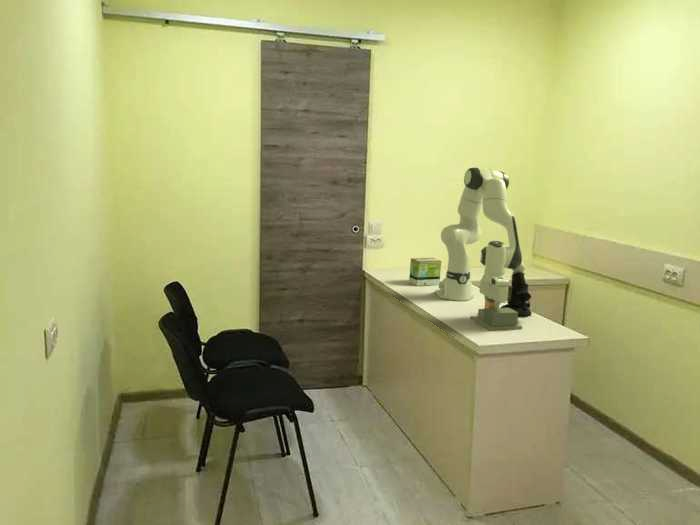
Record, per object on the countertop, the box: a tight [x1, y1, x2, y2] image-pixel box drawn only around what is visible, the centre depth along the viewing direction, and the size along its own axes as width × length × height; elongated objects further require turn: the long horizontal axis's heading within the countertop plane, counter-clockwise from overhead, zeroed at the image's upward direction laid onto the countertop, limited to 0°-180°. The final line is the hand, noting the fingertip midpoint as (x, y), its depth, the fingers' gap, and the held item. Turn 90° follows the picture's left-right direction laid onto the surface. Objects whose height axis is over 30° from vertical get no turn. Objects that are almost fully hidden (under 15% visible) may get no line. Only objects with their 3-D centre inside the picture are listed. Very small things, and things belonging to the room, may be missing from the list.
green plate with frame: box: [469, 307, 523, 331], centre depth 261 cm, size 18×16×7 cm
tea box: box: [408, 257, 442, 287], centre depth 338 cm, size 15×10×15 cm
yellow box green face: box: [483, 298, 495, 309], centre depth 265 cm, size 4×5×9 cm
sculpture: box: [500, 262, 532, 318], centre depth 275 cm, size 15×24×25 cm, turn 179°
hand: (491, 307), depth 265 cm, fingers open, 6 cm apart
